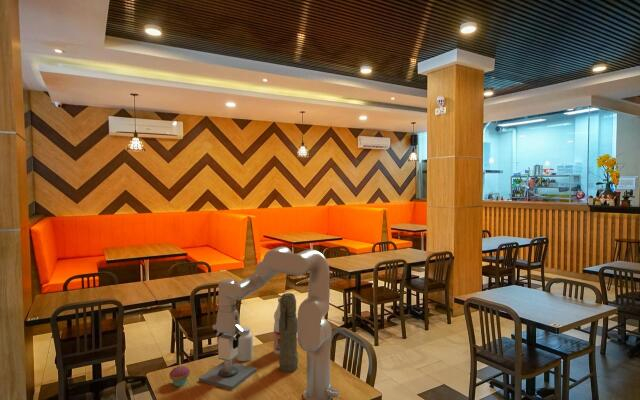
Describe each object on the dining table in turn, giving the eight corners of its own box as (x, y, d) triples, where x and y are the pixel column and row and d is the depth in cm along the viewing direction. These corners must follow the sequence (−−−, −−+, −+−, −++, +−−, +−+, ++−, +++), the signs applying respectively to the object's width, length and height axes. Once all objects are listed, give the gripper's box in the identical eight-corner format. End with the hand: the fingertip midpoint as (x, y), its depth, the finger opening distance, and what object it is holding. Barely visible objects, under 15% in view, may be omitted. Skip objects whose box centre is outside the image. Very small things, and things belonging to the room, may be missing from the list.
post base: (256, 371, 181) (256, 344, 180) (232, 390, 164) (231, 361, 164) (225, 363, 188) (224, 338, 187) (198, 381, 172) (198, 353, 171)
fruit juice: (286, 346, 208) (285, 294, 206) (295, 352, 200) (295, 299, 199) (270, 351, 202) (270, 298, 201) (280, 357, 194) (279, 302, 193)
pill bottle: (249, 362, 189) (248, 332, 189) (233, 361, 191) (233, 330, 190) (255, 355, 197) (254, 326, 197) (240, 354, 199) (239, 325, 198)
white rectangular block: (237, 356, 177) (237, 334, 177) (229, 361, 172) (229, 339, 171) (226, 353, 180) (226, 332, 179) (218, 359, 174) (217, 337, 174)
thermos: (275, 373, 179) (275, 297, 177) (282, 361, 190) (282, 290, 189) (294, 374, 177) (294, 298, 176) (300, 363, 189) (300, 291, 187)
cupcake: (169, 380, 172) (169, 354, 172) (190, 377, 175) (189, 351, 175) (169, 390, 164) (169, 362, 164) (190, 386, 167) (190, 359, 167)
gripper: (248, 307, 175) (248, 346, 175) (217, 302, 182) (217, 339, 183) (238, 312, 168) (238, 352, 168) (206, 307, 175) (207, 345, 176)
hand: (227, 345), depth 176 cm, fingers open, 8 cm apart
